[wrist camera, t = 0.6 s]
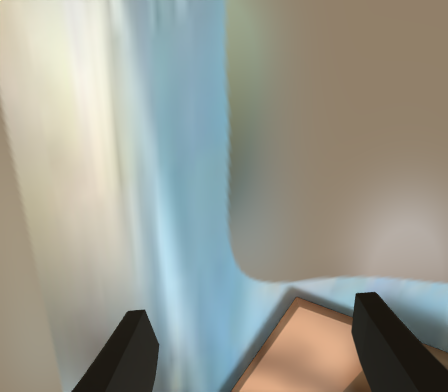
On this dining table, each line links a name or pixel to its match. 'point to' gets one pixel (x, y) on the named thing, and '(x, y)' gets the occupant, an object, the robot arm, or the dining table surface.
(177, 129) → the dining table surface
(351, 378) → the brown wooden tray
